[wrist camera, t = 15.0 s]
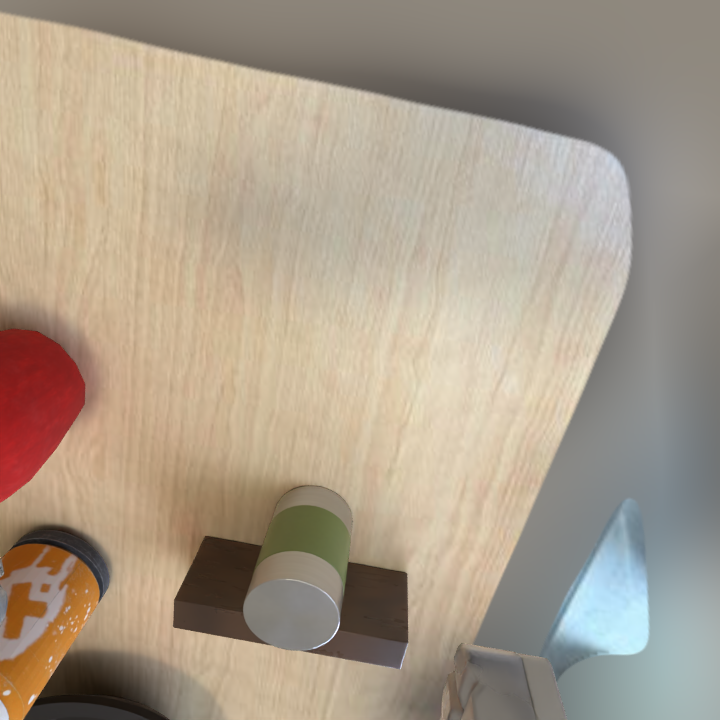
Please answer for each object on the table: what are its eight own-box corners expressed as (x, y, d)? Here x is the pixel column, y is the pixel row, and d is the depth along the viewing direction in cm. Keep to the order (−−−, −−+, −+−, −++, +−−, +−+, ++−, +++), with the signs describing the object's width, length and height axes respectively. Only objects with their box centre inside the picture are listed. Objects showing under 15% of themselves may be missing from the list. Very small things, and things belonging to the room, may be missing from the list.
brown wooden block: (407, 572, 46) (408, 643, 40) (395, 617, 49) (394, 691, 42) (205, 535, 47) (173, 599, 40) (202, 582, 49) (171, 649, 42)
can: (336, 476, 43) (318, 568, 34) (364, 538, 45) (355, 641, 36) (261, 496, 44) (225, 590, 35) (293, 556, 47) (266, 659, 38)
